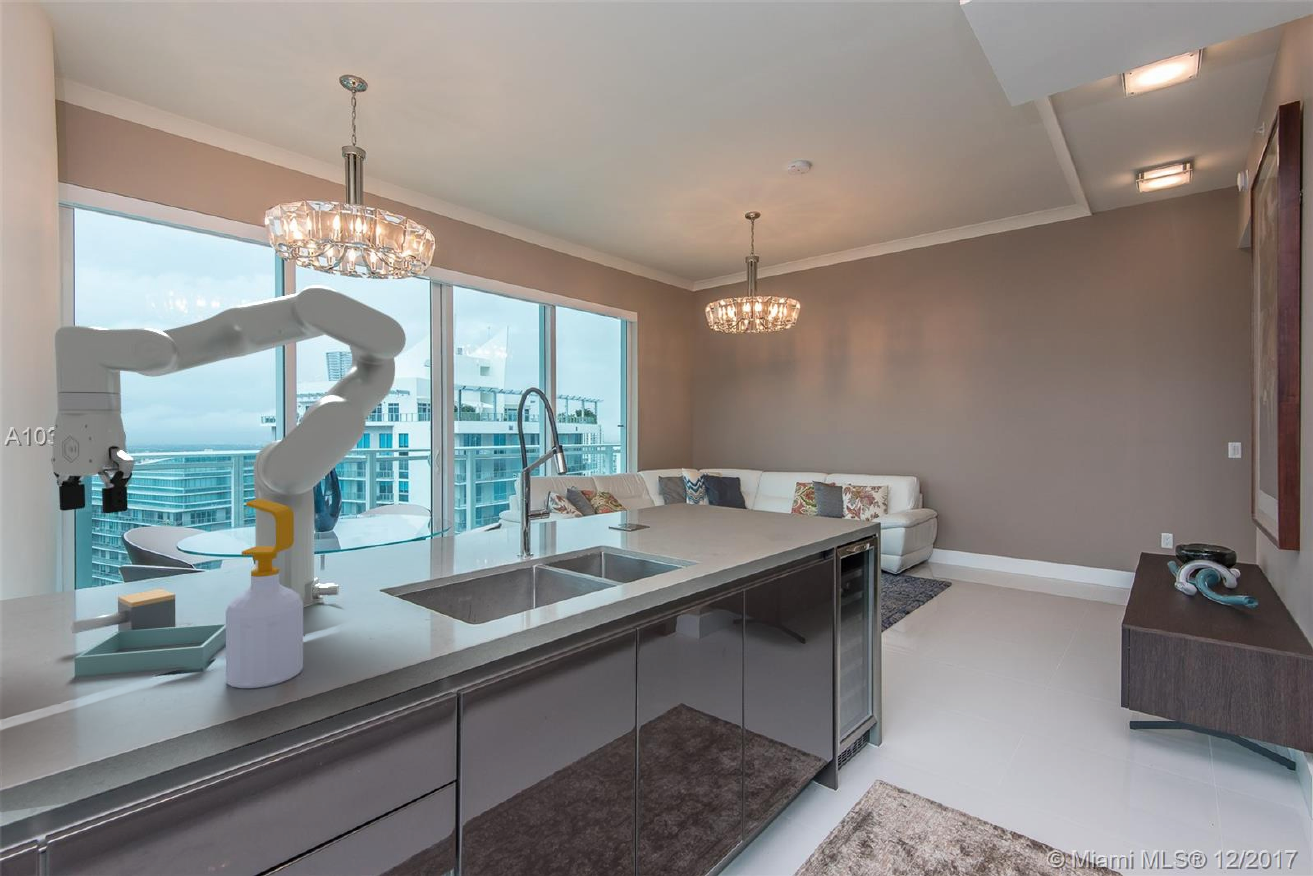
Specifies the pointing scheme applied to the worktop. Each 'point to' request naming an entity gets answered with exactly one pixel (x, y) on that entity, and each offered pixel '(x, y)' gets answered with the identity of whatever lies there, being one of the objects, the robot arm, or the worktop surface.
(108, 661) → the bin
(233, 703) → the worktop surface
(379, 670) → the worktop surface
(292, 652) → the soap bottle
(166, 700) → the worktop surface
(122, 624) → the grey block with cylinder
